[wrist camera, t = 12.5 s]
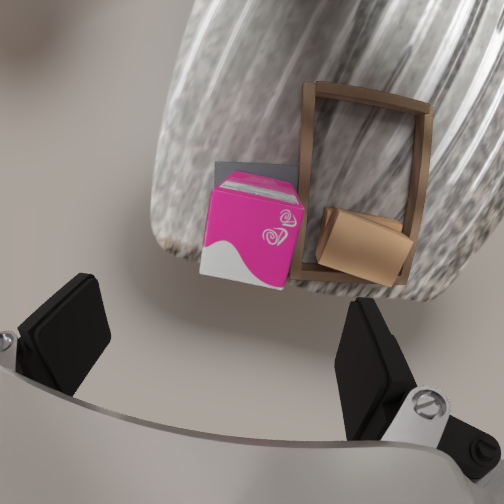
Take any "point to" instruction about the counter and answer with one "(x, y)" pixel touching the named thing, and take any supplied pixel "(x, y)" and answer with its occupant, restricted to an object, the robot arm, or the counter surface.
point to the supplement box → (251, 230)
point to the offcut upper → (362, 247)
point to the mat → (257, 171)
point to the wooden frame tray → (417, 176)
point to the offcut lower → (381, 220)
